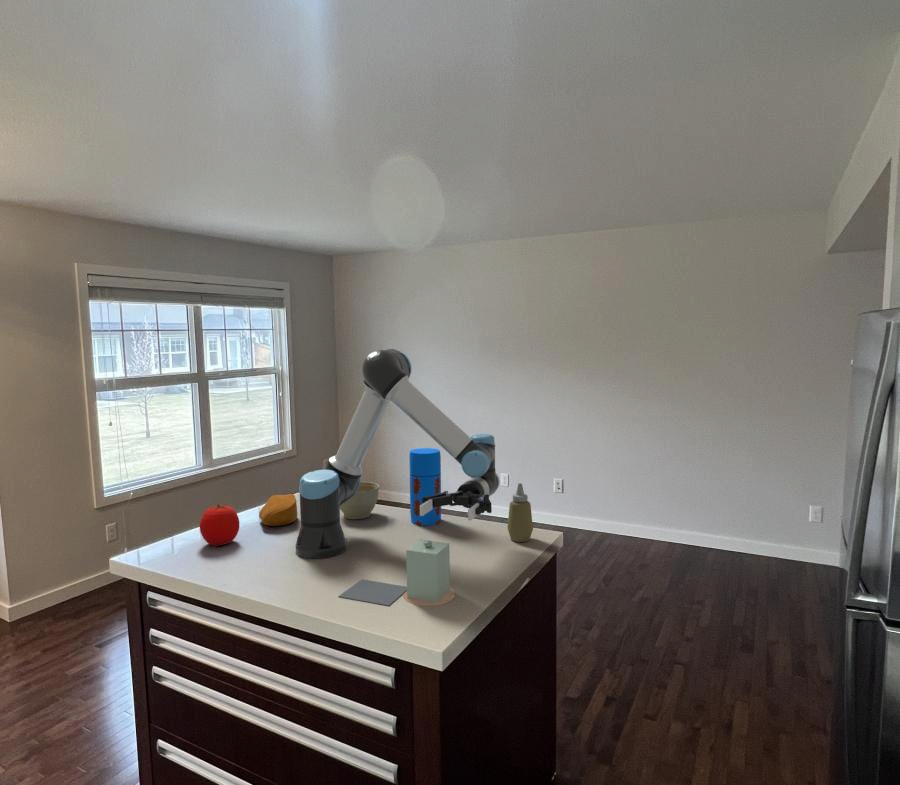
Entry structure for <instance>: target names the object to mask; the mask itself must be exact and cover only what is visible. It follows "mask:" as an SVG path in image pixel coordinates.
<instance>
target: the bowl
mask: <svg viewBox="0 0 900 785" xmlns="http://www.w3.org/2000/svg"><path fill="white" fill-rule="evenodd" d="M455 597H456V591H455V589H453V587H451V586H450V590H449V591H448V592H447V594H446V595H445V596H444V597H443V598H442V599H441V600H440V601H439V602H438V603H433V602H427V601H422V600H416V599H410V598H407V591H406V592H405V593H403V594H402V598H403V600H404V601H406V602H407V603H410V604H412V605H414V606H415V605H416V606H419V607H420V606H421V607H430V606H432V607H433V606H434V607H435V606H440V605H443V604H446V603H448V602H451V601H452V600H453V599H454V598H455Z"/></svg>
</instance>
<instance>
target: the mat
mask: <svg viewBox="0 0 900 785" xmlns="http://www.w3.org/2000/svg"><path fill="white" fill-rule="evenodd" d="M406 591H407V585H406V586H405V585H398V584H394V583H386V582H381V581H375V580H370V579H369V580H368V579H364V578H362V579H360V580H358V581H356V583H355V584H352V585H351V587H349V588H347V589H346V590H345V591H343V592H342V593H340V595H338V596H337V597H338V598H342V599H347V600H350V601H359V602H363V603H369V604H373V605H374V604H375V605H378V606H379V605H380V606H384V607H390V606H391V605H393V604H394V603H395V602H396V601H397V600H398V599H399V598H400V597H401V596H403V593H405V592H406Z"/></svg>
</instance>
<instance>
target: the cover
mask: <svg viewBox="0 0 900 785" xmlns="http://www.w3.org/2000/svg"><path fill="white" fill-rule="evenodd" d="M405 551H406V552H405V553H406V556H405V558H406V587H407V598H410V599H416V600H422V601H427V602H433V603H438V602H439V601H440V600H441V599H442V598H443V597H444V596H445V595H446V594H447V592H448V591H449V590H450V587H451V581H450V580H451V575H450V574H451V571H450V570H451V569H450V568H451V567H450V566H451V564H450V542H443V541H442V542H441V541H434V540H427V539H419V540H418V541H417V542H415V543H414V544H412V545H411V546H410V547H408V548H406V550H405Z"/></svg>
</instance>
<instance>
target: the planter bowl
mask: <svg viewBox="0 0 900 785" xmlns="http://www.w3.org/2000/svg"><path fill="white" fill-rule="evenodd" d="M379 489H380V485H379V484H378V483H376V482H369V481H360V485H359V488H358V490H357V492H356V494H355V495H354V496H353V497H352V498H351V499H349V500H348V501H346V502H344V503H343V504H342V505H340V512H342V513H343V517H344V519H348V520H361V519H367V518H369V517H371V515H372V511H373V510H374V509H375V507H376V504H377V502H378V500H379Z"/></svg>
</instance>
